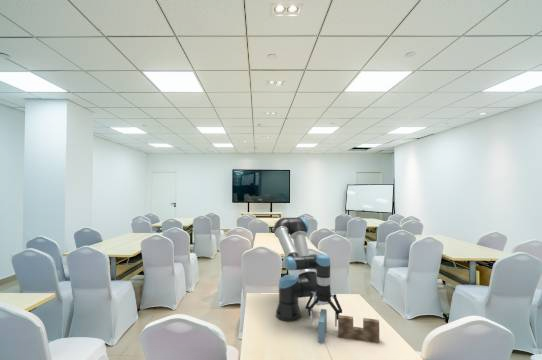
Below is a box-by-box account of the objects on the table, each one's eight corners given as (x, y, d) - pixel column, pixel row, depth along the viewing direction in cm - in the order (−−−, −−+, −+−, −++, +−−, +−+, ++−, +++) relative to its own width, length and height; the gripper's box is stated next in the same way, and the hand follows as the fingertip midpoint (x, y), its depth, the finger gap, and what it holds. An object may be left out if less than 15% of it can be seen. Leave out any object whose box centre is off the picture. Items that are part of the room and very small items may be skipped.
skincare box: (326, 299, 195) (326, 284, 195) (331, 302, 189) (331, 287, 189) (313, 301, 190) (313, 286, 191) (318, 305, 185) (318, 289, 185)
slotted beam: (338, 337, 144) (338, 317, 144) (338, 334, 146) (338, 315, 147) (379, 342, 138) (379, 322, 139) (378, 339, 141) (378, 319, 142)
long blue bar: (318, 341, 139) (318, 321, 139) (321, 327, 154) (321, 308, 155) (324, 342, 138) (324, 322, 139) (326, 327, 153) (326, 309, 154)
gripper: (300, 284, 152) (300, 323, 151) (346, 288, 146) (346, 330, 145) (302, 280, 160) (302, 318, 159) (346, 283, 153) (346, 323, 152)
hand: (323, 323), depth 152 cm, fingers open, 12 cm apart
